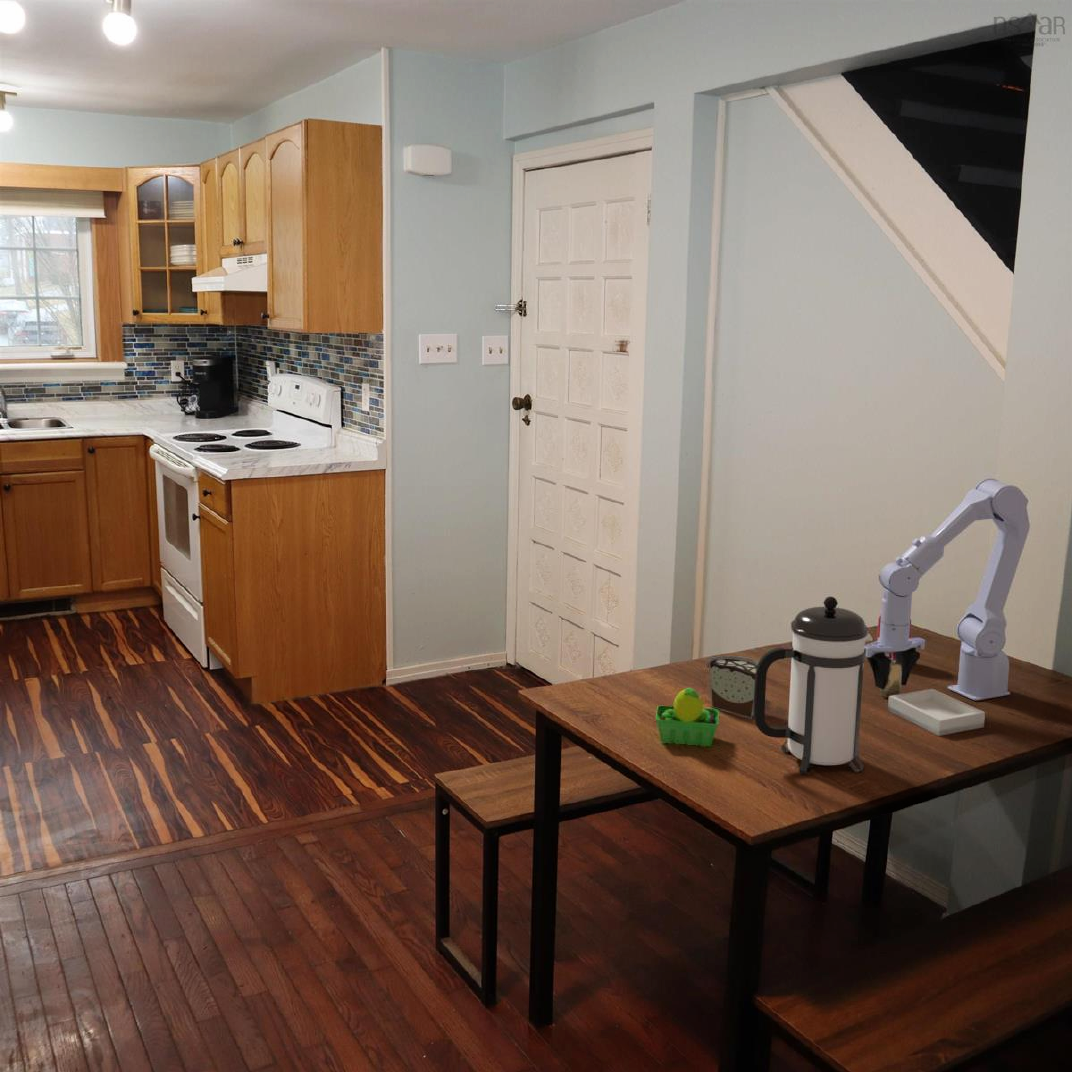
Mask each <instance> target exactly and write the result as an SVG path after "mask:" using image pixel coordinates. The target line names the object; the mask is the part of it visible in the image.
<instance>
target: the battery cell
mask: <svg viewBox="0 0 1072 1072" xmlns="http://www.w3.org/2000/svg"><path fill="white" fill-rule="evenodd" d="M889 659H891V660H892V661H891V663H890V666H889V669H888V672H887V679H886V686H885V689H880V688H879V695H880V696H882V697H883V698H888V699H889V696H892V695H898V694H902V693H901V692H902V685H901V680H902V667H903V663H902V662H901V661H899V660H897V659H894V658H889Z"/></svg>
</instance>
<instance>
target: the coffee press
mask: <svg viewBox="0 0 1072 1072" xmlns="http://www.w3.org/2000/svg"><path fill="white" fill-rule="evenodd" d="M838 604H839V602H838V601H837V599H836V598H835V597H833V596H827V597H826V598H825V599H824V601H823V605H824V606H814V607H809V608H805V609H803V610H801V611H799V613H797V614H796V615H795V617H794V619H793V620H792V621H791V622H790V630H791V632H792V641H791V643H790V648H783V647H778V648H774V649H772V650H769V651H767V652H766V653H764V654H763V656H762V657H761V658H760V659H759V661H758V662H759V663H758V665H757V668H756V674H755V685H754V718H753V720H754V723H755V726H756V728H757V729H758V730H759V731H760V732H761V733H762V734H763V735H765V736H766V737H771V738H775V739H777V738H778V739H781V738H782V739H783V738H786V739H787V740H785V742H784V743H783V744H782V745H781V750H782V752H783V753H785V754H788V753H791V754H792V755H793V756H794V757H796V758H797V759H799V760H801V762H800V766H799V769H798V772H799V773H800V774H802V773H803V774H802V775H806V776H809V774H810V773H811V770H812V768H813V766H814V765H819V766H820V765H821V766H838V765H844V764H847V765H848V766H849V767H850V769H852V771H853V772H854V773H856V774H857V773H860V772H861V771H862V770H864V763H863V762H862V759H861V758H860V756H859V741H860V740H859V739H860V723H861V710H862V709H861V708H862V697H863V696H862V694H863V693H862V692H863V678H864V677H863V676H864V663H865V662H866V657H865V655H866V649H865V645H866V642H872V641H873V637H872V635H871V634H870V632H869V628H868V626H867V625H866V623H865V621H864V619H863V618H862V617H861V615H859V614H858V613H856V612H854V611H852V610H850V609H845V608H842V607H837V606H838ZM790 658H791V659H790ZM784 659H790V660H791V664H790V665H791V666H790V683H789V684H790V685H789V703H788V719H787V720H788V721H787V722H786V726H783V727H782V726H771V725H769V724H768V723H767V722H766V719H765V718H766V717H765V715H766V714H765V713H766V712H765V710H766V709H765V708H766V689H767V675H768V674H767V673H768V670H769V669H770V667H771V665H772V664H774V662H777V661H779V660H784ZM786 745H787V747H786ZM853 760H855V762H856V763H857V765H855V763H854V762H853ZM857 766H858V767H857Z"/></svg>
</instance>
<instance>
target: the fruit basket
mask: <svg viewBox="0 0 1072 1072" xmlns="http://www.w3.org/2000/svg"><path fill="white" fill-rule="evenodd" d="M719 715H720V710H718V709H715V708H705V707H704V702H703V700H702V698H701V697H700V695H699V693H698V692H697V691H696V690H695V689H694V688H692V687H685V688H684V689H683V690H680V691H679V692H678V694H677V695H676V697H675V698H674V700H673V705H658V706H657V707H656V715H655V718H654V719H655V721H656V722H655V723H656V724H657V727H658V732H659V737H660V742H661V743H662V742H663V743H662V744H665V743H672V744H673V743H675V744H674V745H679V744H687V746H691V745H696V746H695V747H705V746H710V747H711V746H712V744H713V741H714V737H715V733H716V731H717V729H718V727H719V721H720V720H719V719H720V716H719ZM698 745H700V746H698Z"/></svg>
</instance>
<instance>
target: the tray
mask: <svg viewBox="0 0 1072 1072" xmlns="http://www.w3.org/2000/svg"><path fill="white" fill-rule="evenodd" d="M887 711H888V712H890V713H892V714H894V715H896V716H898V717H900V718H902V719H903V720H906V721H908V722H910V723H912V724H914V725H916V726H918V727H920V728H921V729H923V730H926V731H927V732H929V733H932V734H934V735H935V736H938V737H940V736H945V735H951V734H955V733H960V732H961V733H962V732H964V731H965V732H966V731H972V730H976V729H981V728H984V727H985V720H986V719H985V718H986V711H983V710H981V709H978V708H977V707H974V706H973V705H970V704H968V703H965V702H963V701H960V700H959V699H957V698H955V697H952V696H950V695H948V694H945V693H944V692H941V691H939V690H937V689H934V688H930V689H929V688H928V689H924V690H923V689H922V690H917V691H911V692H906V693H900V694H898V695H892V696H889V698H888V703H887Z"/></svg>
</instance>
